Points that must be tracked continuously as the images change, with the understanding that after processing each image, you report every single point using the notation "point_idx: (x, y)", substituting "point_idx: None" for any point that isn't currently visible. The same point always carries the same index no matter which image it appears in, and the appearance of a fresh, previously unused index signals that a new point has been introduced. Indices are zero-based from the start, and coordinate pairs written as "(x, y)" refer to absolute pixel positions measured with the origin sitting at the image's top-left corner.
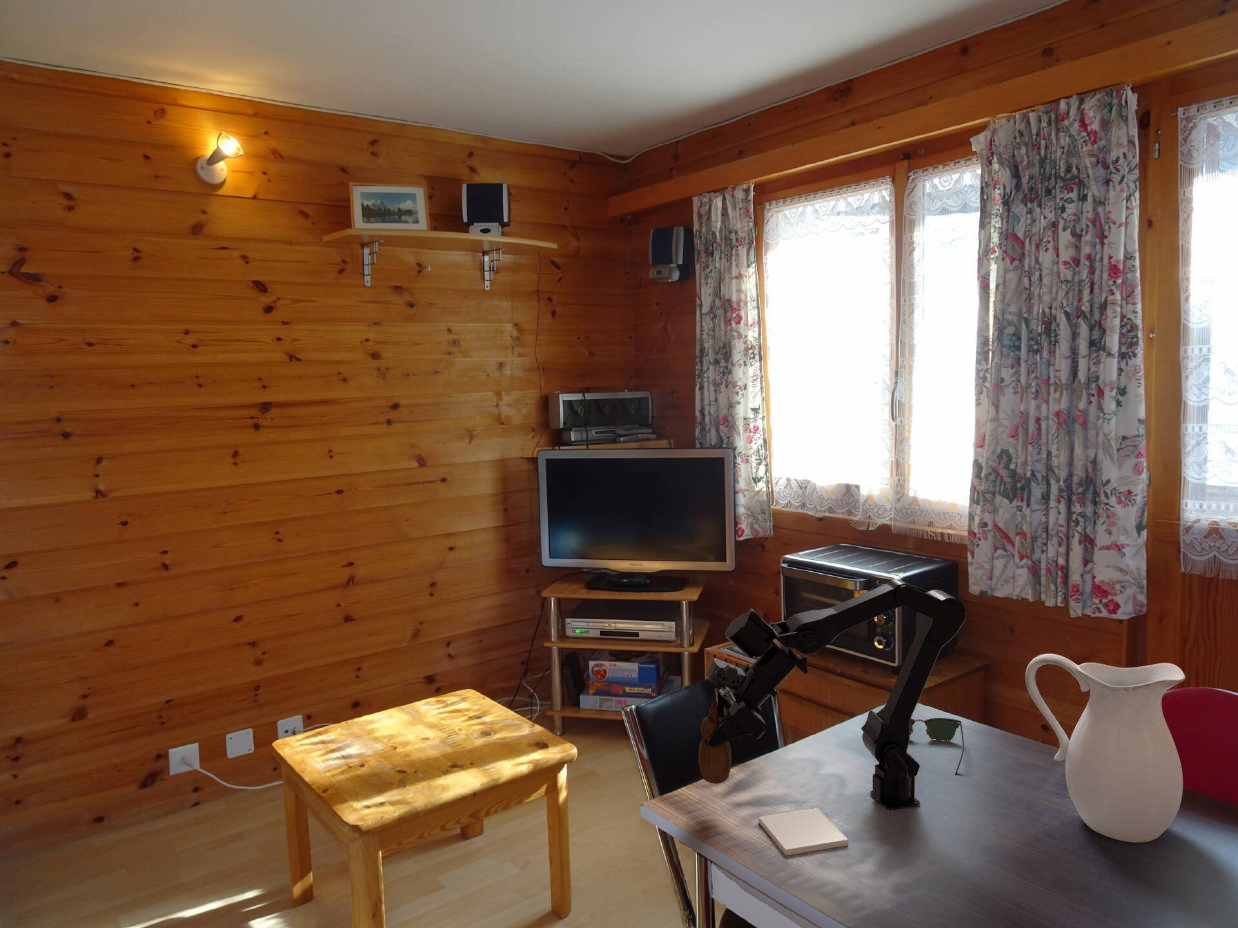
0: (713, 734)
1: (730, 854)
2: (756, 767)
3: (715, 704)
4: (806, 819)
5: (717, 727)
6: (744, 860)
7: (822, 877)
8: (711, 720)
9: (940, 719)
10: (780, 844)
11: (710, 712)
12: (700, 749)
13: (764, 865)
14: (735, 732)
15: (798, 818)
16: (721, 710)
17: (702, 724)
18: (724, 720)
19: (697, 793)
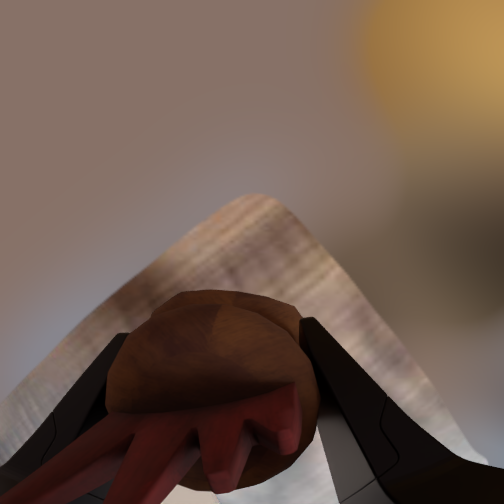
0: (91, 374)
1: (70, 340)
2: (434, 421)
3: (20, 498)
4: (177, 501)
5: (79, 414)
6: (56, 360)
7: None
8: (151, 397)
9: None
10: None
11: (240, 416)
12: (185, 297)
13: (47, 389)
14: None
15: (181, 491)
16: (362, 486)
17: (173, 314)
18: (22, 469)
19: (325, 295)
